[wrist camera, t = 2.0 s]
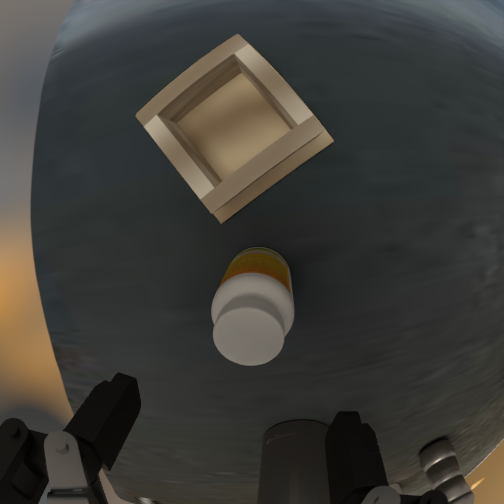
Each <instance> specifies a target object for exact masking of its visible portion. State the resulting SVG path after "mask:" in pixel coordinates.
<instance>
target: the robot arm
mask: <svg viewBox="0 0 504 504" xmlns="http://www.w3.org/2000/svg"><path fill="white" fill-rule="evenodd" d="M140 408H141V399H140V394H139V389H138V383H137V379H136V378H134V377H131V376H128V375H125V374H122V373H117V374H116V375H115V376H114V378H113V379H112V381H111V382H108V381H106V380H105V381H103V382H101V383H100V384H98V385H97V386H95V387H94V389H93V390H92V391H91V393H90V394H89V397H87V398H86V400H85V401H84V404H82V405H81V407H80V408H79V409H78V411H77V412H76V414H75V415H74V416H73V418H72V419H71V421H70V422H69V424H68V425H67V426H66V428H65V429H64V430H63V431H55V432H52V433H50V434H44V433H40V432H36V431H33V430H29V429H28V428H27V426H26V425H25V424H24V422H23V421H21V420H19V419H17V418H10V419H7V420H5V421H4V422H3V423H2V425H1V426H0V504H38V503H39V501H40V498H41V496H42V494H43V492H44V490H45V488H46V486H47V484H48V482H50V487H51V491H50V492H49V493H48V494H47V502H48V504H108V502H107V499H106V496H105V493H104V490H103V487H102V485H101V481H100V478H99V475H98V473H99V471H100V469H101V468H103V469H106V470H108V471H110V470H111V468H112V466H113V464H114V462H115V460H116V458H117V456H118V454H119V452H120V450H121V448H122V446H123V444H124V442H125V440H126V438H127V436H128V434H129V432H130V430H131V428H132V426H133V424H134V422H135V420H136V418H137V417H138V415H139V412H140ZM377 443H378V442H377V438H376V435H375V432H374V431H373V430H372V428H371V427H370V426H369V424H368V423H364V424H362V423H361V420H360V416H359V413H358V412H357V411H339V412H338V413H337V415H336V417H335V418H334V420H333V422H332V424H331V426H330V427H329V428H328V427H327V426H326V425H324V424H322V423H319V422H315V421H306V420H299V421H290V422H285V423H282V424H279V425H277V426H274V427H272V428H271V429H270V430H268V431H267V432H266V433H265V435H264V437H263V447H262V458H261V468H260V479H259V489H258V499H257V504H449V502H448V499H447V496H446V495H445V494H444V493H443V492H442V491H439V490H430V491H428V492H426V493H425V494H423V495H422V496H413V495H402V494H399V493H398V492H397V491H396V490H395V489H394V488H392V487H390V486H389V484H388V482H387V478H386V473H385V469H384V465H383V461H382V457H381V453H380V450H379V446H378V445H377Z"/></svg>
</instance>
